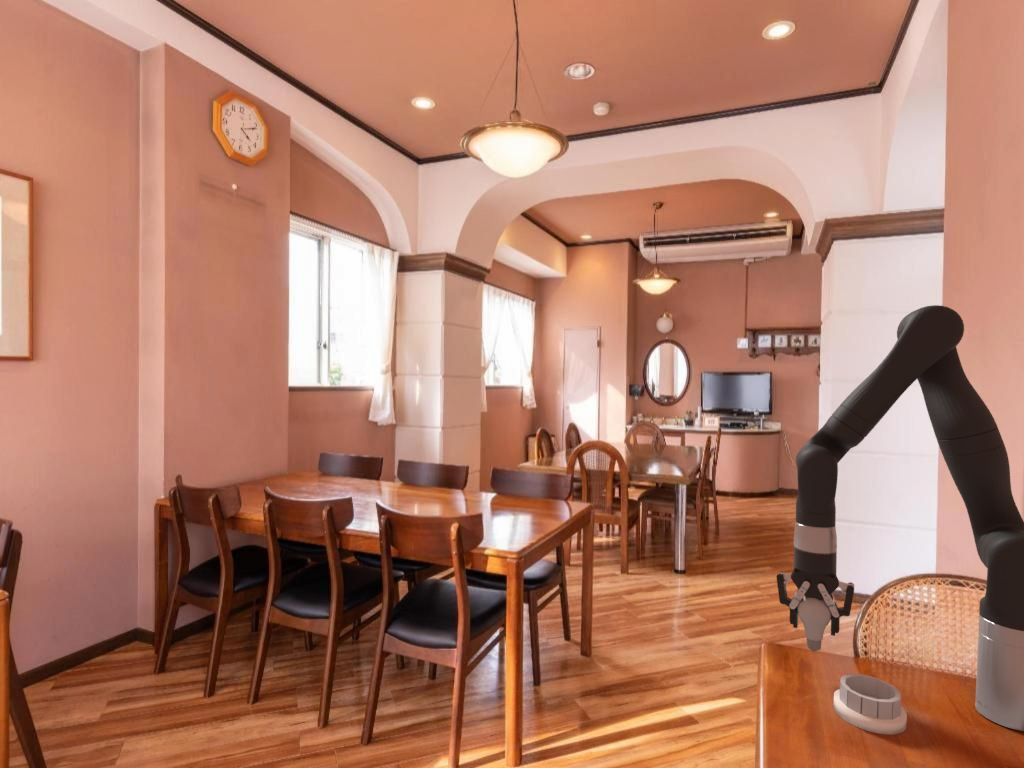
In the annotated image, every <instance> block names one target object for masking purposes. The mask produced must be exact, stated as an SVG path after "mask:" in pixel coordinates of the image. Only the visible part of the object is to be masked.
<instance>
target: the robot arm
mask: <svg viewBox="0 0 1024 768" xmlns="http://www.w3.org/2000/svg"><path fill="white" fill-rule="evenodd" d="M964 332H965V323H964V320H963V318H962V317H961V315H960V314H959V313H958V312H957V311H956V310H954V309H953V308H950V307H948V306H945V305H939V304H938V305H933V304H932V305H927V306H924V307H920V308H918V309H915V310H913V311H911V312H910V313H908V314H907V315H905V316H904V317H903V318H902V319H901V320H900V322H899V324H898V327H897V330H896V338H897V340H896V342H895V343H894V345H893V347H892V348H891V350H890V351H889V352H888V354H887V355H886V356H885V358H884V359H883V360H882V361H881V362H880V364H879V365H878V366H877V367H876V368H875V369H874V370H873V371H872V372H871V373H870V374H869V375H868V376H867V377H866V378H865V379H864V380H863V381H861V382H860V384H858V385H857V387H855V388H854V389H853V391H852V392H850V394H849V395H847V396H846V398H845V399H844V400H843V401H842V402H841V403H840V405H839V406H837V408H836V410H835V411H834V412H833V413H832V414H831V415H830V416H829V418H828V419H827V420H826V422H825V423H824V425H823V426H822V427H821V428H820V429H819V430H818V431H816V432H815V434H813V435H812V436H811V437H810V438H809V439H808V440H807V441H806V443H805V444H804V445H802V447H801V448H800V450H799V451H798V453H796V457H795V465H796V467H797V469H796V471H797V497H796V500H795V501H796V502H795V525H794V532H793V533H794V534H793V570H792V571H791V572H790V573H789V572H784V571H781V570H779V571H778V573H777V575H776V583H777V592H778V599H779V600H778V601H779V603H780V604H781V605H785V606H787V607H788V608H789V624H790V625H792V627H793V628H794V629H798V627H799V615H798V611H797V606H798V603H799V602H800V601H801V599H802V598H803V597H809V598H813V597H814V598H817V599H820V600H823V599H824V600H825V602H826V604H827V606H828V607H829V609H830V611H831V613H832V616H831V620H830V636H835V637H836V634H839V632H840V625H841V623H840V622H841V621H840V619H841V617H843V616H844V617H849V616H851V610H852V604H853V599H854V593H855V584H854V583H853V582H850V581H849V582H848V583H847V582H843V581H841V580H839V578H838V577H837V560H838V559H837V558H838V557H837V555H838V553H837V552H838V551H837V550H838V549H837V548H838V538H837V536H838V535H837V530H836V529H837V527H836V522H837V521H836V517H837V516H836V513H837V511H836V509H837V508H836V493H837V486H838V474H839V473H838V471H839V466H838V465H839V464H838V463H840V461H842V459H843V458H844V457H845V456H846V454H848V452H849V451H851V449H853V448H855V447H857V446H859V445H860V443H862V442H863V440H864V439H865V438H866V437H867V436H868V435H869V434H870V433H871V432H872V430H873V429H875V427H876V426H877V425H878V423H880V421H881V420H882V419H883V418H884V416H885V415H886V414H887V413H888V412H889V410H890V409H891V408H892V407H893V406H894V404H895V403H896V402H897V401H898V400H899V398H900V397H901V396H902V395H903V394H904V393H905V392H906V391H907V389H908V388H909V387H911V386H912V384H913V383H914V382H915V381H916V380H917V381H918V384H919V386H920V389H921V391H922V392H921V393H922V396H923V399H924V404H925V408H926V410H927V413H928V418H929V420H930V423H931V426H932V429H933V433H934V437H935V438H936V441H937V444H938V446H939V449H940V453H941V454H942V457H943V459H944V461H945V463H946V467H947V468H948V471H949V474H950V477H951V478H952V480H953V482H954V484H955V487H956V489H957V490H958V492H959V495H960V496H961V499H962V501H963V502H964V505H965V508H966V511H967V512H966V513H967V515H968V519H969V523H970V526H971V530H972V534H973V539H974V543H975V547H976V548H975V549H976V552H977V555H978V557H979V559H980V561H981V563H982V564H983V565H984V567H986V569H987V576H986V587H985V594H984V596H983V597H981V598H980V599H979V609H978V610H979V613H978V614H979V615H978V636H977V659H976V660H977V662H976V680H975V681H976V683H975V684H976V685H975V686H976V687H975V703H974V704H975V707H974V708H975V710H976V711H977V712H978V713H979V714H980V715H982V717H984V718H985V719H988V720H989V721H991V722H993V723H995V724H997V725H1000V726H1002V727H1005V728H1009V729H1012V730H1016V731H1021V732H1024V519H1023V517H1022V515H1021V513H1020V511H1019V509H1018V507H1017V505H1016V502H1015V498H1014V495H1013V493H1012V483H1011V468H1010V461H1009V455H1008V451H1007V448H1006V444H1005V443H1004V440H1003V438H1002V437H1003V436H1002V435H1001V432H1000V430H999V427H998V425H997V422H996V420H995V418H994V416H993V415H992V413H991V411H990V409H989V407H988V406H987V405H986V403H985V401H984V400H983V398H982V397H981V396H980V394H979V393H978V391H977V390H976V389H975V388H974V386H973V385H972V382H970V380H969V379H968V377H967V375H966V373H965V371H964V369H963V365H962V362H961V360H960V356H959V352H958V349H957V346H958V345H959V343H960V342H961V340H962V339H963V337H964ZM790 580H791V581H792V582H793V584H794V585H795V586H796V588H797V589H796V591H795V593H794V595H793V596H792V598H791V597H789V596H788V591H787V585H788V584H789V581H790ZM838 588H840V591H841V594H842V595H845V597H844V603H843V606H840V607H839V606H838V604H837V601H836V598H835V596H834V594H833V593H834V592H835V591H836V590H837V589H838Z"/></svg>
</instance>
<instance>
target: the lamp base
mask: <svg viewBox="0 0 1024 768" xmlns="http://www.w3.org/2000/svg"><path fill="white" fill-rule="evenodd" d="M832 706H833V710H834V711H835V713H836V714H837V715H838V717H839V718H841V719H842V720H844V721H845V722H846V723H848V724H850V725H851V726H853V727H857V728H858V729H861V730H863V731H868V732H871V733H874V734H878V735H891V736H892V735H898V734H902V733H903V732H904V731H905V730H906V729H907V719H908V717H907V716H908V715H907V710H906V709H905V708H904V707H903V706H902V693H901V691H900V690H899V689H897V688H896V687H895V686H894V685H893V684H892V683H889V682H887V681H885V680H883V679H881V678H879V677H875V676H870V675H867V674H862V673H848V674H845V675H842V676H840V681H839V688H837V689H836V690H835V691H834V693H833V705H832Z"/></svg>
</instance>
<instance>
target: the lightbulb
mask: <svg viewBox="0 0 1024 768" xmlns="http://www.w3.org/2000/svg"><path fill="white" fill-rule="evenodd" d="M797 611H798V618H799V620H800V621H801V623H802V624H803V627H804V635H805V637H806V640H805V642H806V647H807V648H808V649H810V651H812V652H817V651H820V650H822V640H823V639H824V632H825V630H826V628H827V626H828V625H829V623H831V616H832V613H831V611H830V609H829V607H828V606H827V604H826V602H825V600H824V599H823V600H820V599H817V598H814V597H813V598H809V597H805V596H803V597H802V599H801V601H800V602H799V603H798V605H797Z"/></svg>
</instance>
